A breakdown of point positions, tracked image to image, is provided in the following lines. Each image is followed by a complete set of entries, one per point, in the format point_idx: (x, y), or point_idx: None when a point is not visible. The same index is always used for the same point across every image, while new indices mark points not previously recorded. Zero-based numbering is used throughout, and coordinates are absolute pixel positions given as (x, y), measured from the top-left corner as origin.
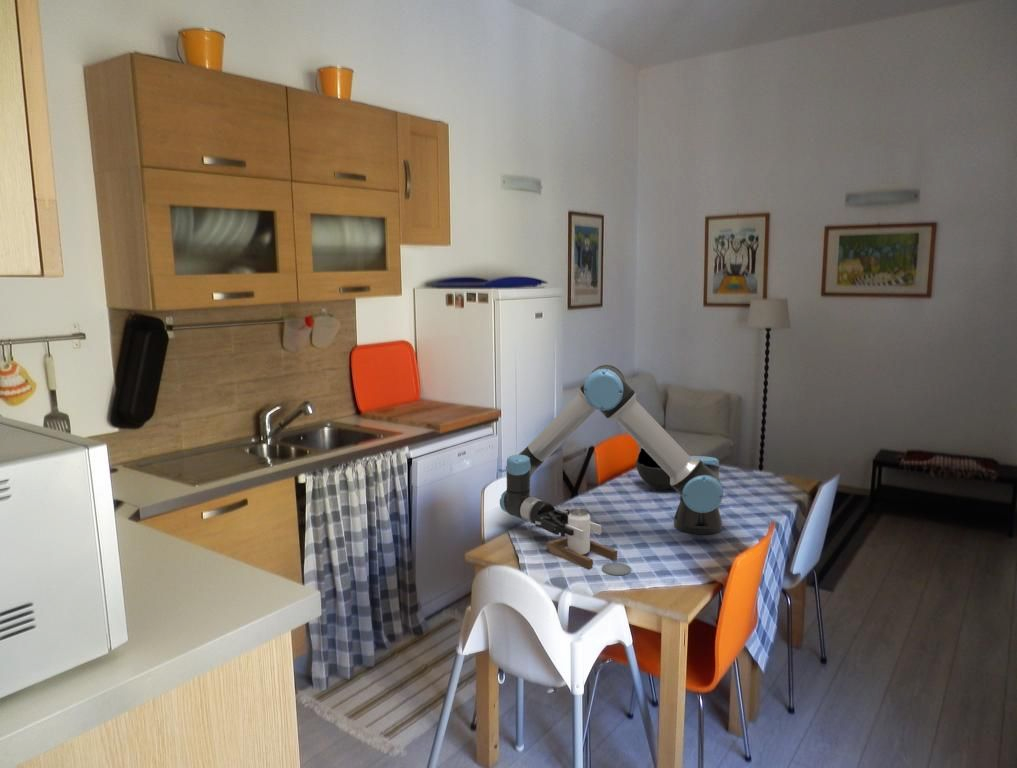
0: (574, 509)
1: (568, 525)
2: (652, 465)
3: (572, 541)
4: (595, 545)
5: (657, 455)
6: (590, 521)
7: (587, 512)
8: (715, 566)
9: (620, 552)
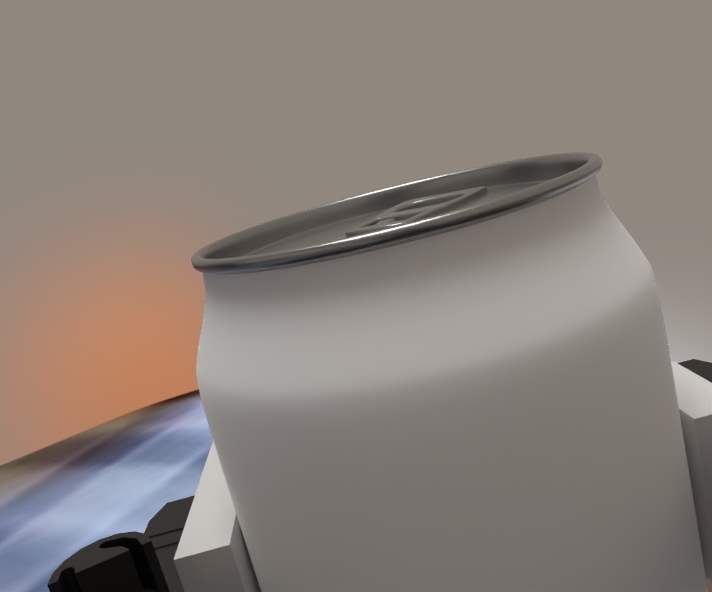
0: (368, 245)
1: (696, 395)
2: None
3: None
4: None
5: None
6: (205, 477)
7: (259, 250)
8: (15, 468)
9: None
